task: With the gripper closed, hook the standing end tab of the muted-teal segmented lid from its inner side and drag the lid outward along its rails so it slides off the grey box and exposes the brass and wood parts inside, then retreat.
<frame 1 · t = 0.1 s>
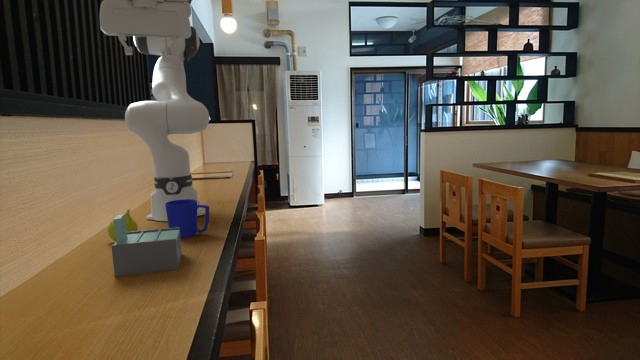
hand: (150, 55, 93), 48 cm above the counter, fingers open, 8 cm apart
brass part: (139, 264, 82), point 1 cm above the counter, touching grey box
wood part: (160, 264, 82), point 1 cm above the counter, touching grey box
pear: (124, 242, 101), on the counter
mug: (190, 238, 104), on the counter
lid: (147, 227, 81), point 9 cm above the counter, slide at 0.0 cm
grey box: (151, 267, 82), on the counter
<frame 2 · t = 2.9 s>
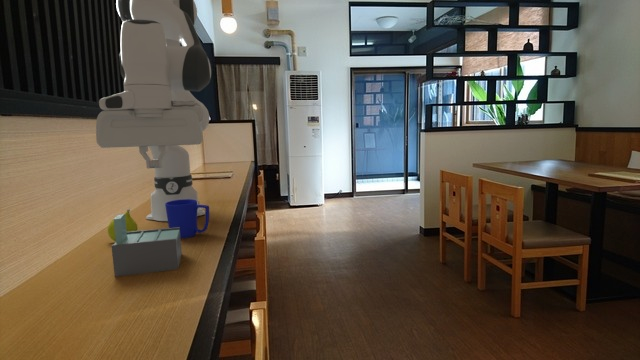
hand: (154, 168, 80), 22 cm above the counter, fingers closed
nothing on the counter moved.
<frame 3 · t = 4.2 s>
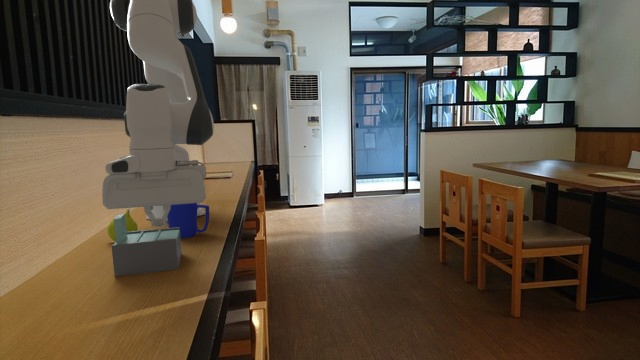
hand: (159, 225, 82), 9 cm above the counter, fingers closed
nothing on the counter moved.
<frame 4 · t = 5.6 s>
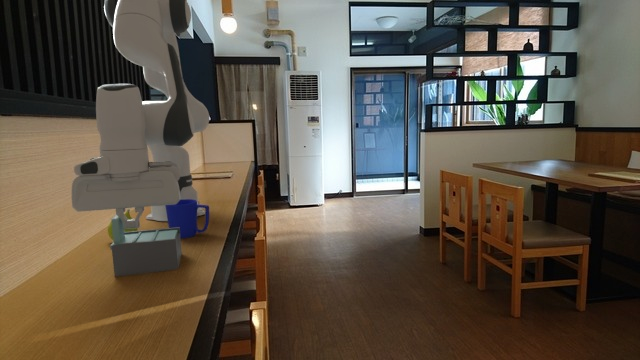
hand: (131, 228, 80), 9 cm above the counter, fingers closed
lid: (145, 227, 81), point 9 cm above the counter, slide at 0.5 cm, touching gripper
everything else where it was.
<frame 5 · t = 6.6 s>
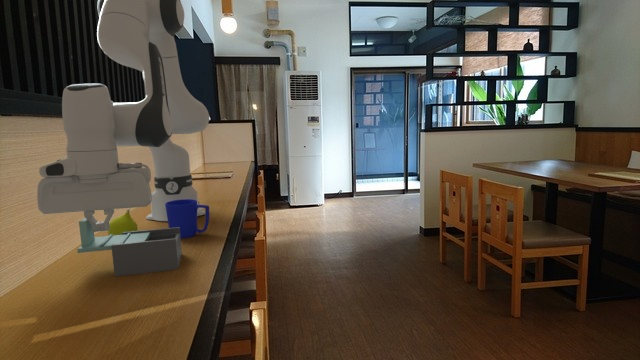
hand: (101, 230, 78), 9 cm above the counter, fingers closed
lid: (115, 230, 79), point 9 cm above the counter, slide at 6.3 cm, touching gripper
everything else where it was.
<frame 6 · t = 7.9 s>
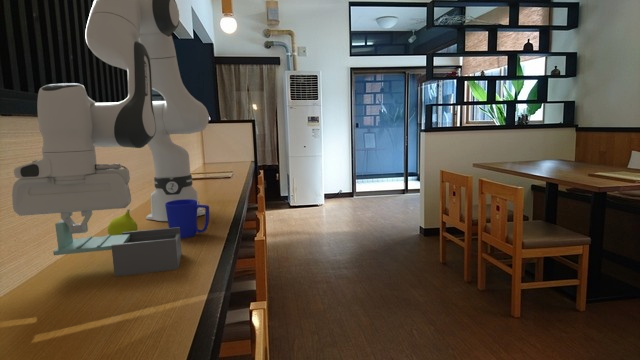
hand: (79, 232, 77), 9 cm above the counter, fingers closed
lid: (93, 232, 78), point 9 cm above the counter, slide at 10.4 cm, touching gripper
everything else where it was.
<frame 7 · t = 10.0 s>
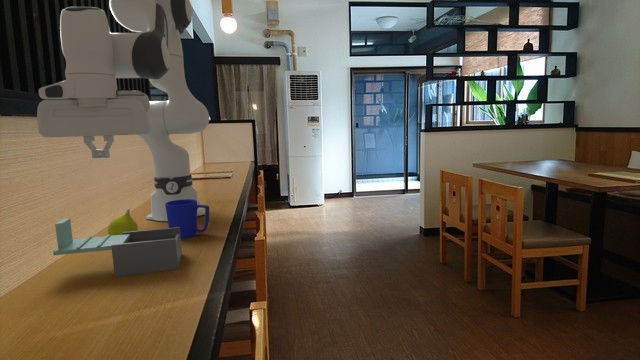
hand: (101, 158, 79), 24 cm above the counter, fingers closed
lid: (93, 232, 78), point 9 cm above the counter, slide at 10.4 cm
everything else where it was.
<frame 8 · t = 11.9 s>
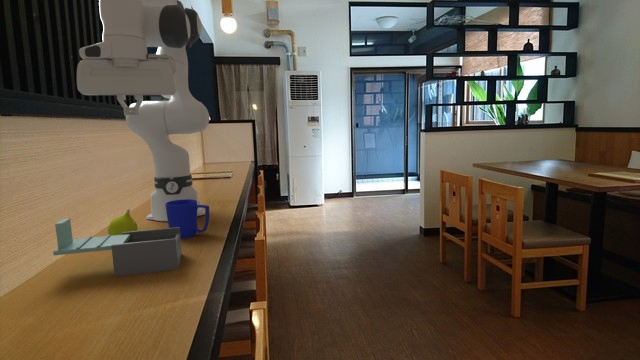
hand: (131, 115, 87), 33 cm above the counter, fingers closed
nothing on the counter moved.
at the end: lid slide at 10.4 cm; the gripper is holding nothing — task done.
